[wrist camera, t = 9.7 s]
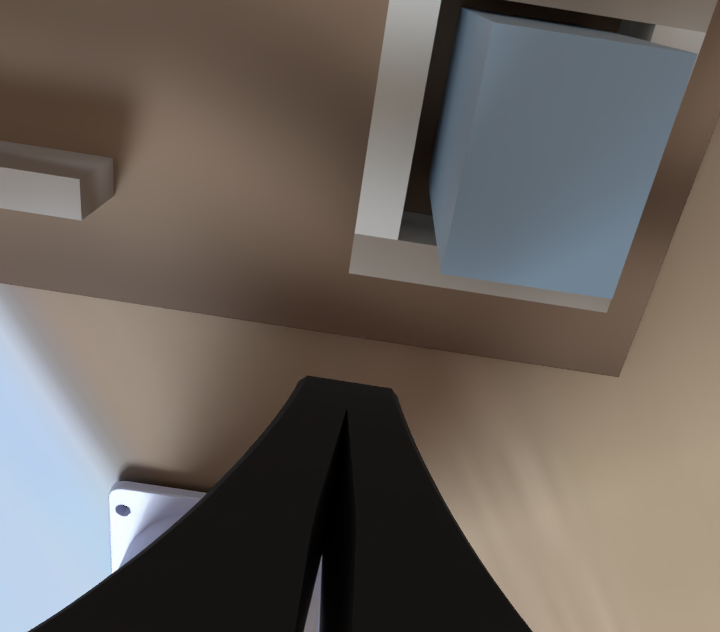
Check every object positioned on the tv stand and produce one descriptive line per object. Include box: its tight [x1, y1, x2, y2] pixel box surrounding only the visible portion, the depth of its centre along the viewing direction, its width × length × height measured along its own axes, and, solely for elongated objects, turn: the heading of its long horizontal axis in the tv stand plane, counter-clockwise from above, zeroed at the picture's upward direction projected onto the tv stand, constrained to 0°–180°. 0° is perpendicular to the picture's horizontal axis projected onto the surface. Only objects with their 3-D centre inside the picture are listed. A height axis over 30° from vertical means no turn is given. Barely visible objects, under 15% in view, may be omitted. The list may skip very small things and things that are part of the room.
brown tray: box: [0, 0, 720, 377], centre depth 15 cm, size 13×22×3 cm, turn 82°
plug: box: [428, 7, 698, 299], centre depth 13 cm, size 4×3×6 cm
